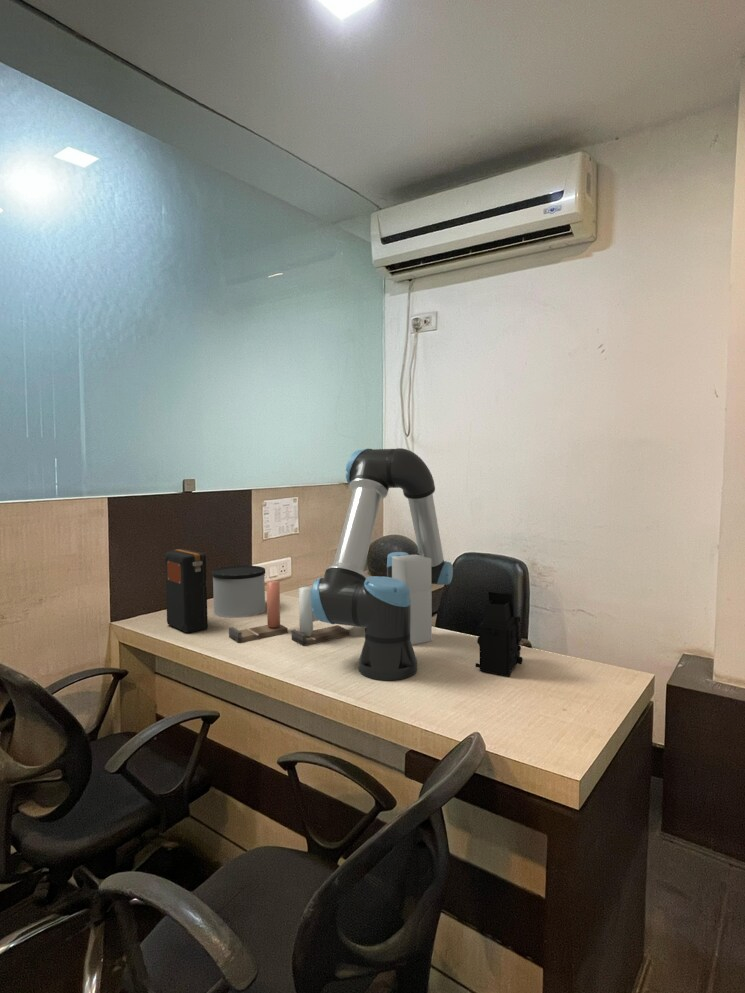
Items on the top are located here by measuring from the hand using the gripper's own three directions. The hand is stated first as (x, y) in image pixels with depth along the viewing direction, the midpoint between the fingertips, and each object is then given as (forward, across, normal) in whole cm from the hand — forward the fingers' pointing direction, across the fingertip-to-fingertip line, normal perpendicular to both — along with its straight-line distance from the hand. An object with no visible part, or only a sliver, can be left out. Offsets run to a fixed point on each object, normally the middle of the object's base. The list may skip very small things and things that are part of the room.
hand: (312, 616), depth 167 cm
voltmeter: (+27, +36, -7) cm, 45 cm away
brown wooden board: (-3, 0, -7) cm, 7 cm away
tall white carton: (-24, -18, -7) cm, 31 cm away
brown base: (+12, +14, -7) cm, 19 cm away
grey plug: (+2, 0, -5) cm, 5 cm away
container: (+5, +45, -7) cm, 46 cm away
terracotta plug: (+6, +14, -5) cm, 16 cm away
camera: (-28, -50, -7) cm, 57 cm away
